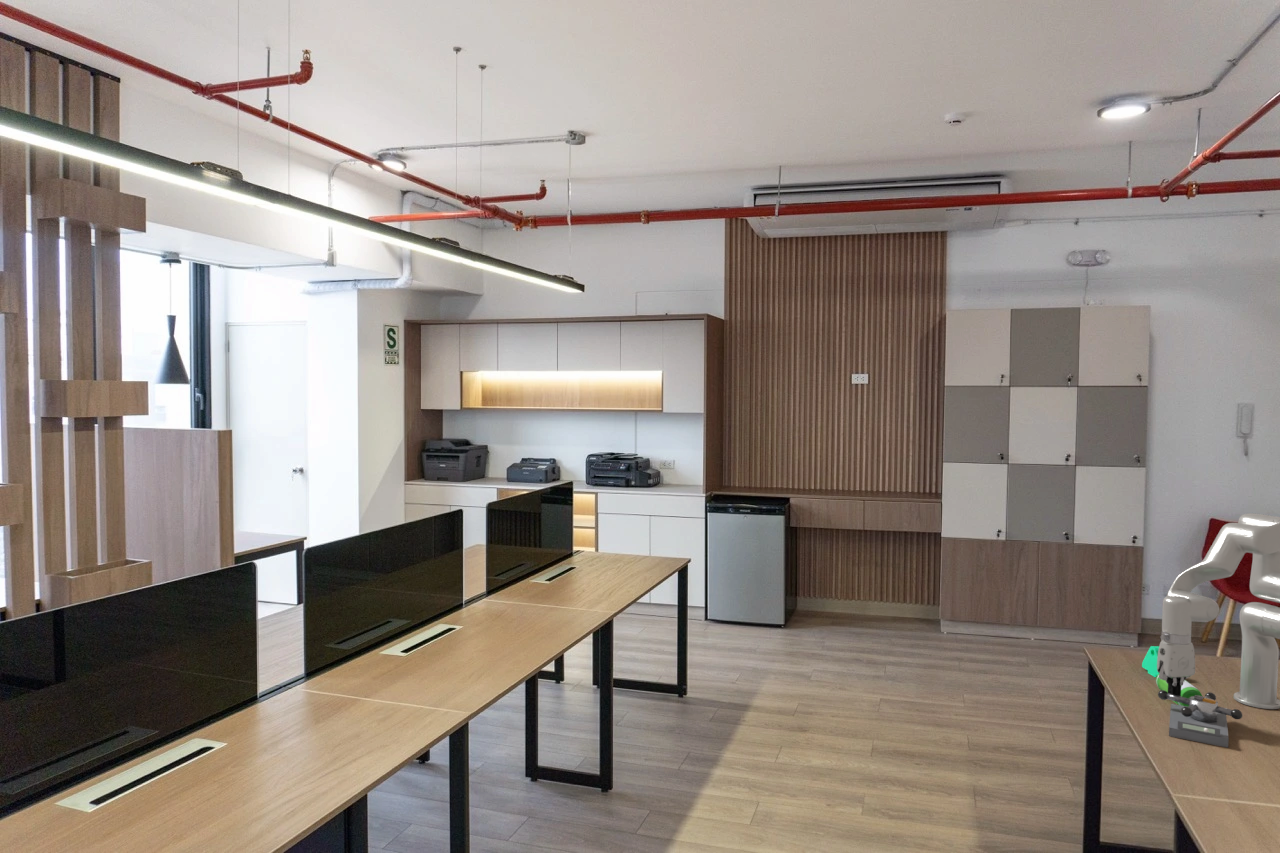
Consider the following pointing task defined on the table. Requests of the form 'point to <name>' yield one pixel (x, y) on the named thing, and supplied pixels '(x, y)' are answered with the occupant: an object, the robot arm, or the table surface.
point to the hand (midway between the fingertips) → (1174, 697)
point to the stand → (1198, 728)
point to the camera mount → (1151, 661)
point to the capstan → (1201, 706)
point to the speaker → (1186, 689)
